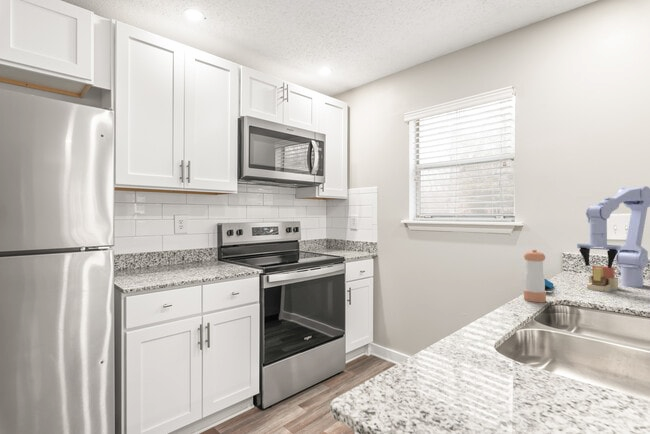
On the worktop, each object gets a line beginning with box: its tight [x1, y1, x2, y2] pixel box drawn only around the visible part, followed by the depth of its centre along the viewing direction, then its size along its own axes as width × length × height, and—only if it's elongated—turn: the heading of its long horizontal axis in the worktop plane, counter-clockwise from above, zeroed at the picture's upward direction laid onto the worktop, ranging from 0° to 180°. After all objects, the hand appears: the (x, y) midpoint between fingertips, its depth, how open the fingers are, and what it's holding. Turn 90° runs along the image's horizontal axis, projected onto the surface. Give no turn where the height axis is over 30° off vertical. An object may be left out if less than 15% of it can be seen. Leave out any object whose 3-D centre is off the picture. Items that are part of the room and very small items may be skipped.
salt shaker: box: [523, 249, 547, 303], centre depth 135 cm, size 7×7×19 cm
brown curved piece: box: [590, 275, 609, 286], centre depth 152 cm, size 12×4×6 cm, turn 128°
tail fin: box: [592, 267, 603, 281], centre depth 149 cm, size 3×2×5 cm
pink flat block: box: [592, 265, 616, 279], centre depth 153 cm, size 2×7×5 cm, turn 38°
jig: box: [583, 274, 620, 293], centre depth 152 cm, size 14×9×5 cm, turn 128°
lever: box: [544, 278, 554, 289], centre depth 152 cm, size 7×7×18 cm
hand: (598, 266), depth 149 cm, fingers open, 7 cm apart
